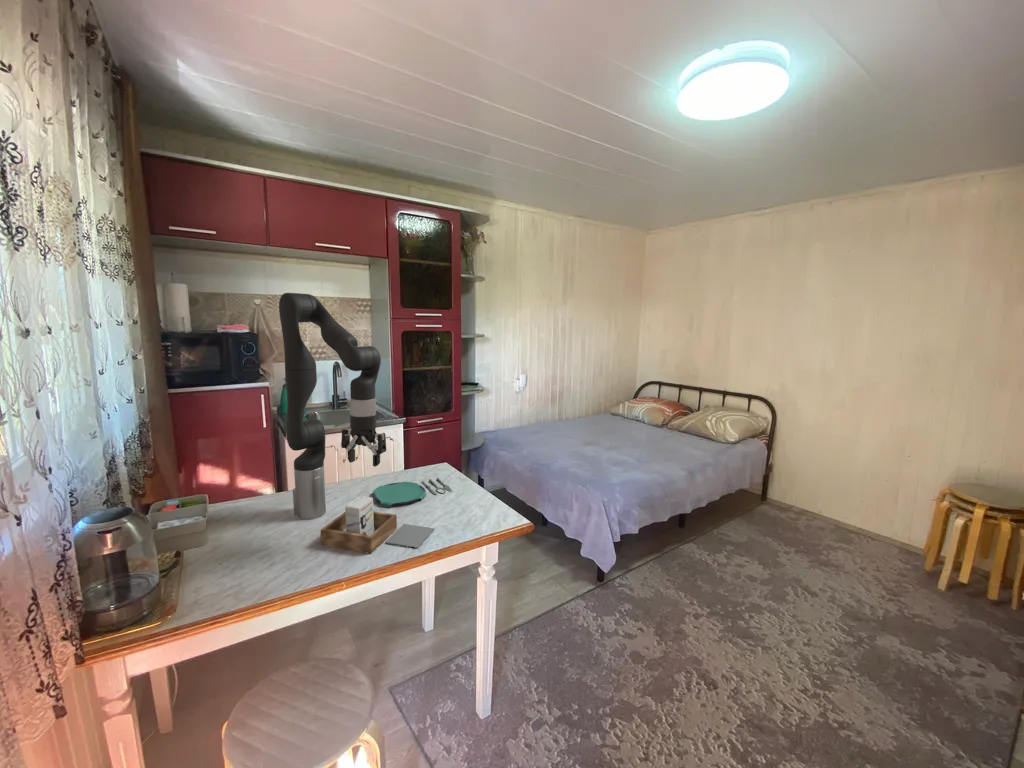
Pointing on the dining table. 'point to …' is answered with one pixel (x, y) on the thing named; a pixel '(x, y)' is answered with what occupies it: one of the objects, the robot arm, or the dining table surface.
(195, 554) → the dining table surface
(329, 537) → the wooden tray
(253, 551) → the dining table surface
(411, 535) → the rubber mat
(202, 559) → the dining table surface
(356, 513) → the ink box
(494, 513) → the dining table surface
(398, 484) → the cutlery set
